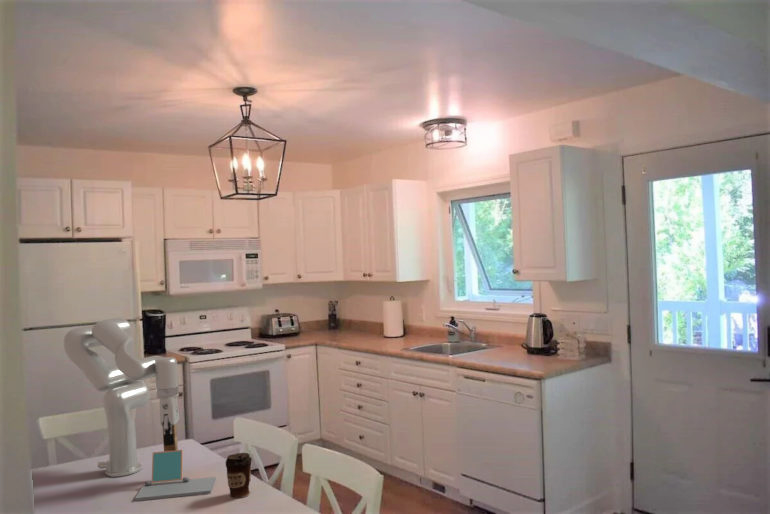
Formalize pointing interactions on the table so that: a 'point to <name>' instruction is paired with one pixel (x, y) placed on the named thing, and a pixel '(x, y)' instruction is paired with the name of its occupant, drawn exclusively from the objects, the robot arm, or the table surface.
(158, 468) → the tile
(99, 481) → the table surface
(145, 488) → the board
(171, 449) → the walnut block
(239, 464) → the coffee cup
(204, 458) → the table surface
